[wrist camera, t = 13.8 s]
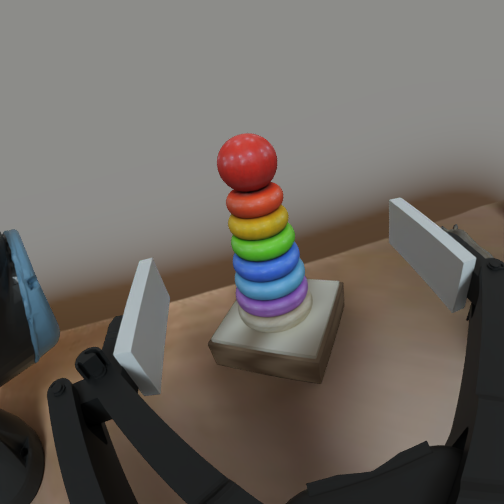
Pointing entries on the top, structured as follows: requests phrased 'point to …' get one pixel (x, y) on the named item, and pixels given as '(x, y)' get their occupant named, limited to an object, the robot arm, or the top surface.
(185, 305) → the top surface
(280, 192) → the stacking toy
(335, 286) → the pedestal
